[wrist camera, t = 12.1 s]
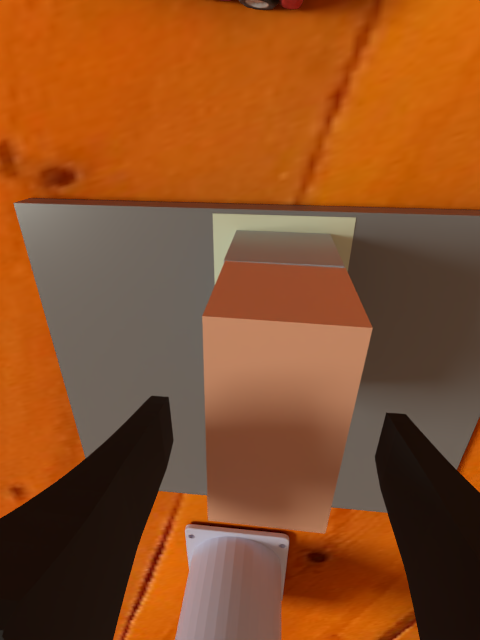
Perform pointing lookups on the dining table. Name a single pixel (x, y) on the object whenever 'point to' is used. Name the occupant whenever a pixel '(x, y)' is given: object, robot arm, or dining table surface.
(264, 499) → the terracotta brick
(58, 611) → the robot arm
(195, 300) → the baseplate
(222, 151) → the dining table surface
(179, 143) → the dining table surface
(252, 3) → the toy fire truck
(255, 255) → the slate brick
